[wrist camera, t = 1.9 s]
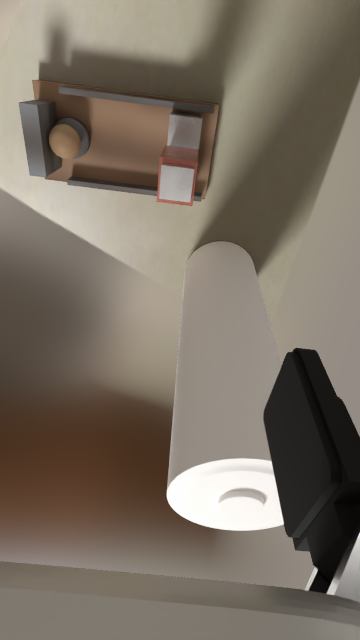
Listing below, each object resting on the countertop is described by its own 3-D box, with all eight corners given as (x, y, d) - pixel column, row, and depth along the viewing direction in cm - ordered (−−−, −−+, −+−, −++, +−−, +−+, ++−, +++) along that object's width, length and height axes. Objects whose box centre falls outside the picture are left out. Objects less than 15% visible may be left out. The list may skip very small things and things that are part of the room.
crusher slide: (171, 111, 32) (159, 128, 22) (202, 115, 32) (203, 133, 23) (165, 185, 36) (153, 227, 27) (192, 189, 36) (190, 231, 27)
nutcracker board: (38, 79, 33) (10, 80, 28) (218, 103, 33) (221, 109, 28) (50, 175, 38) (28, 190, 33) (204, 195, 39) (205, 212, 34)
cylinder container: (269, 272, 44) (351, 509, 20) (219, 314, 49) (237, 549, 25) (218, 226, 41) (246, 446, 17) (170, 276, 45) (136, 505, 21)
